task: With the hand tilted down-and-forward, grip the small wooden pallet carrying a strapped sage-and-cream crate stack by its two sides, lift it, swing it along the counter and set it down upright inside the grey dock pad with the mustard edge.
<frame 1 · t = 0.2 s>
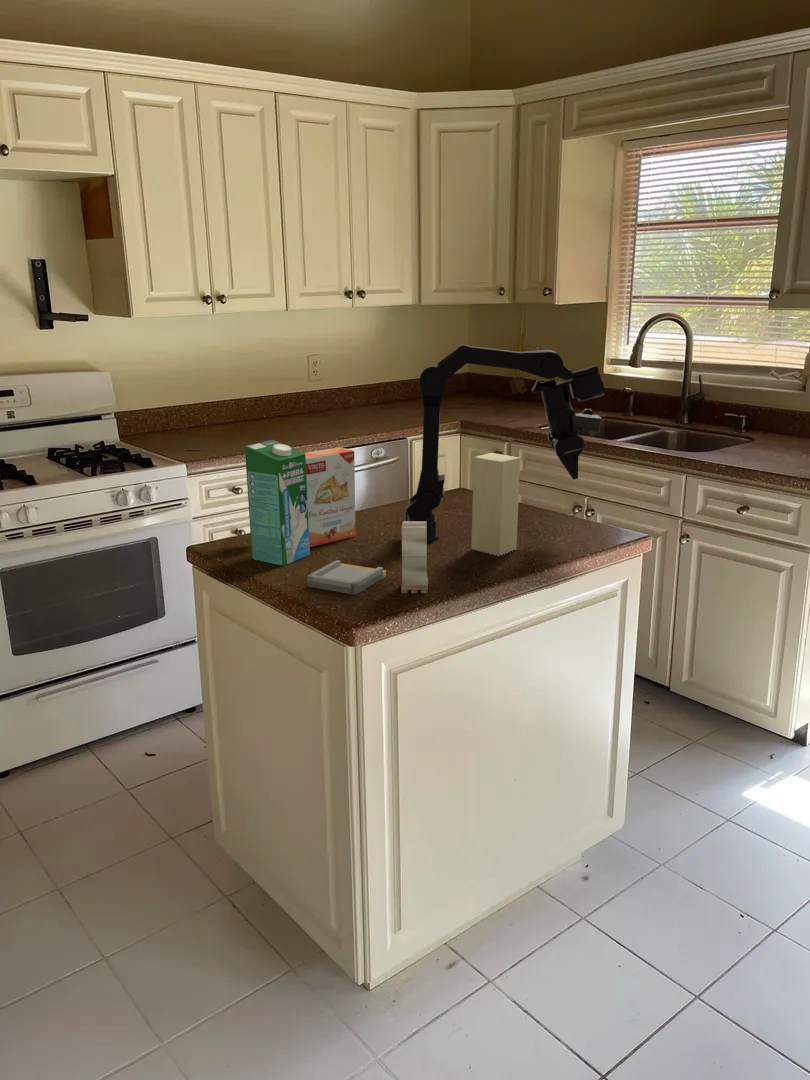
hand: (572, 474, 193), 15 cm above the countertop, tool pointing down, fingers open, 9 cm apart
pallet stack: (414, 588, 167), on the countertop
milk carton: (281, 558, 188), on the countertop
toy refrigerator: (495, 550, 191), on the countertop
cracker box: (326, 541, 199), on the countertop
dock pad: (345, 582, 172), on the countertop
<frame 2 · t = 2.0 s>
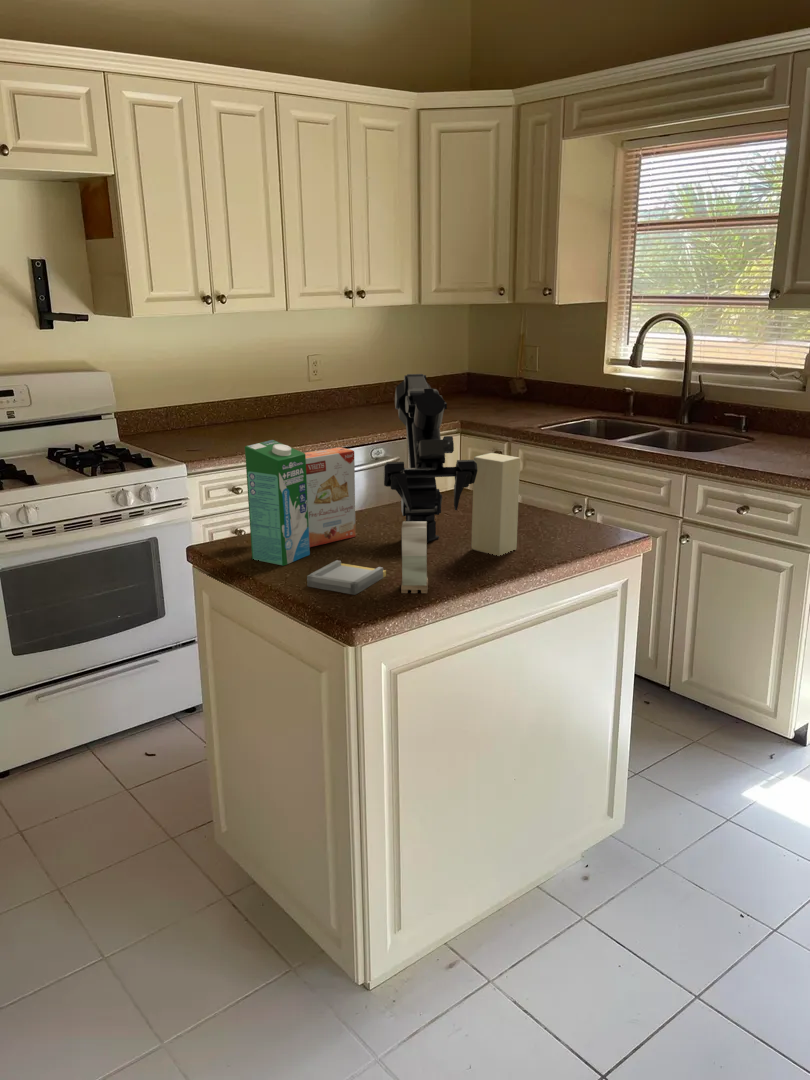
hand: (433, 510, 171), 14 cm above the countertop, tool tilted 40°, fingers open, 9 cm apart
nothing on the countertop moved.
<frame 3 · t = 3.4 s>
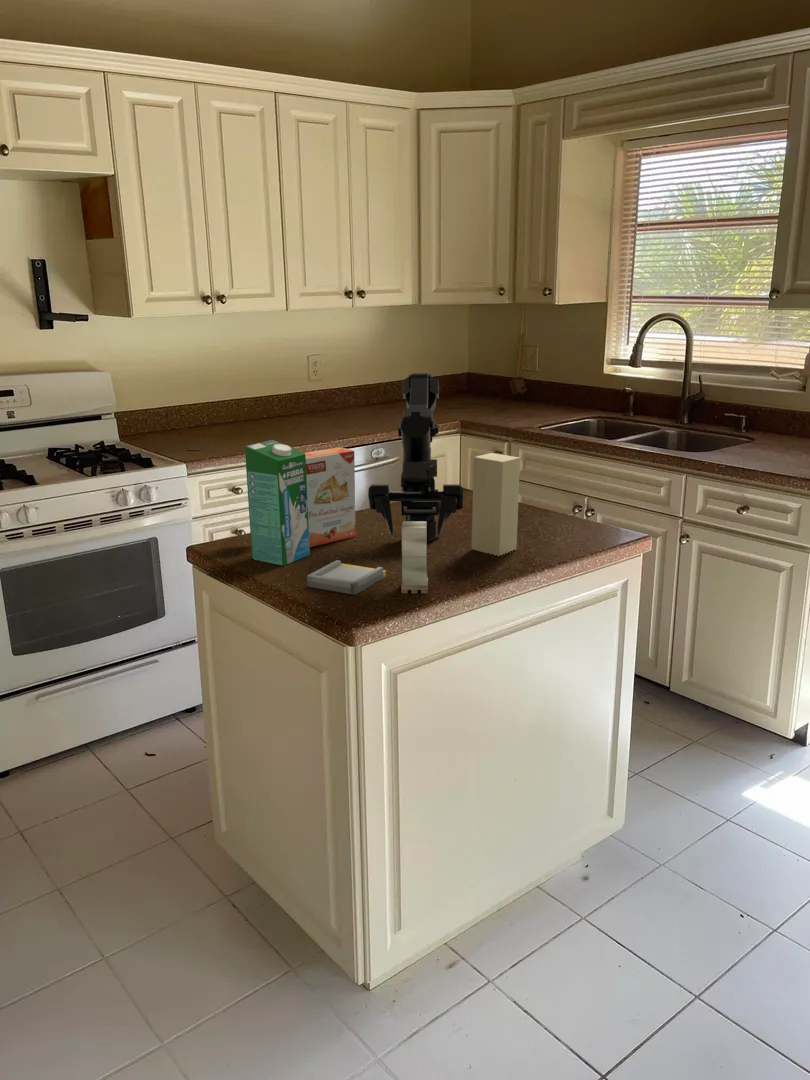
hand: (415, 534, 167), 10 cm above the countertop, tool tilted 45°, fingers open, 9 cm apart
nothing on the countertop moved.
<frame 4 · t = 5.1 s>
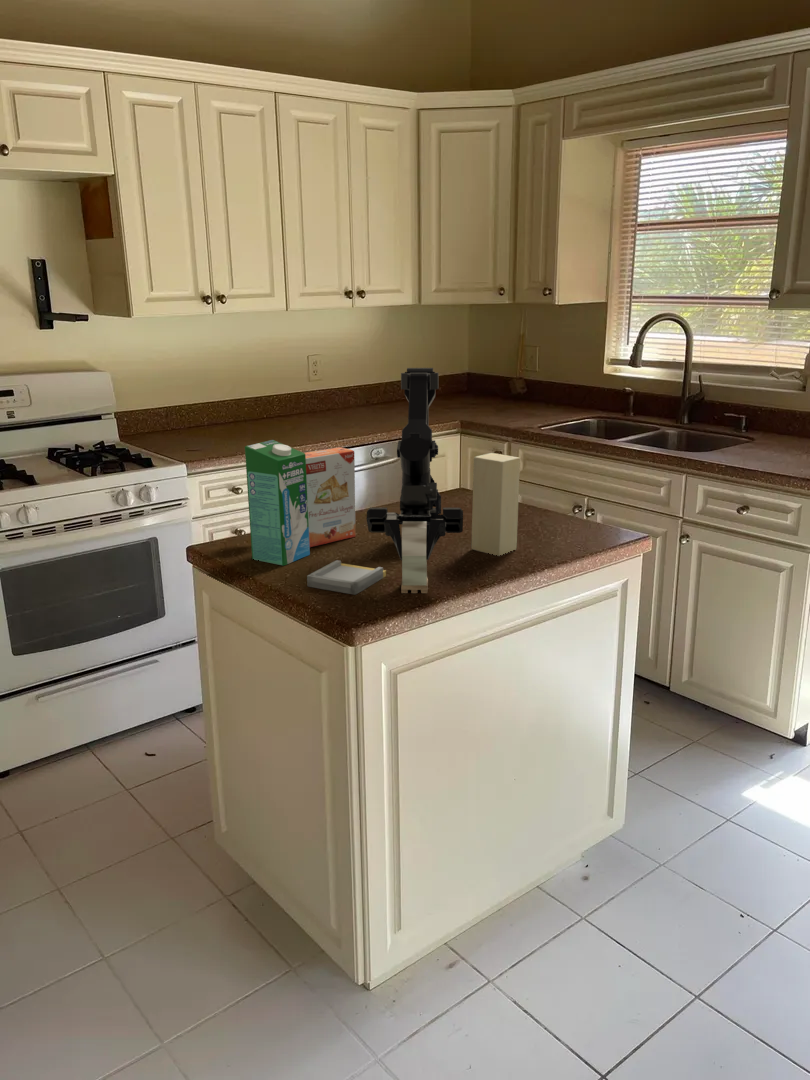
hand: (414, 558, 164), 7 cm above the countertop, tool tilted 45°, fingers closed on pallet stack, 5 cm apart
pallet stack: (414, 588, 167), on the countertop, touching gripper
everything else where it was.
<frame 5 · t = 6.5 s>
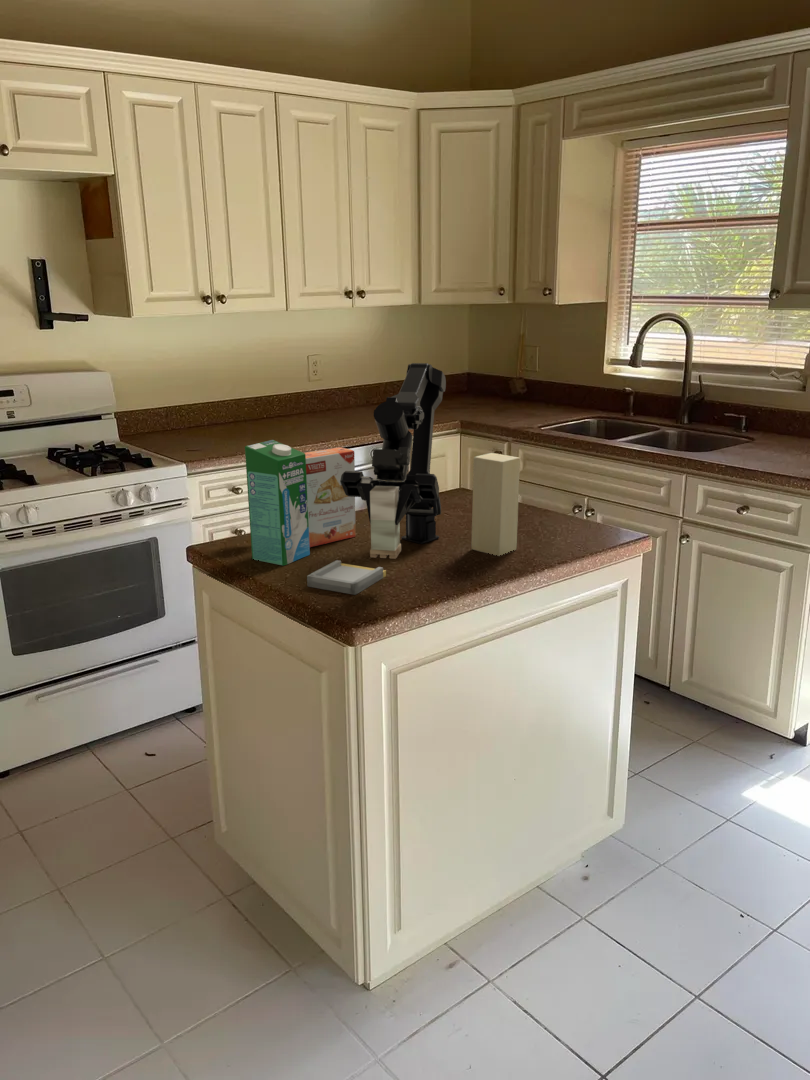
hand: (383, 523, 163), 13 cm above the countertop, tool tilted 45°, fingers closed on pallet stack, 5 cm apart
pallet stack: (385, 553, 167), point 7 cm above the countertop, touching gripper
everything else where it was.
when the fingers open (9 cm above the countertop, at t = 8.4 s): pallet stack drops 1 cm, resting on dock pad.
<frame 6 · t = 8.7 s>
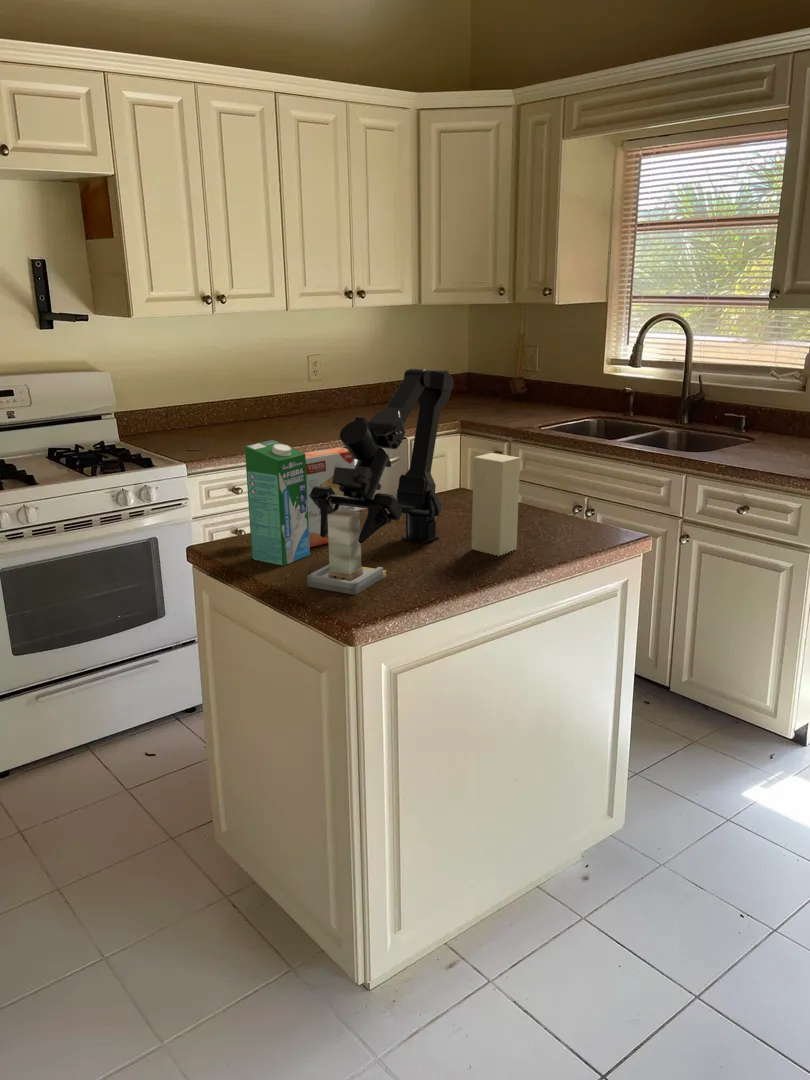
hand: (340, 539, 168), 9 cm above the countertop, tool tilted 45°, fingers open, 8 cm apart
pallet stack: (345, 576, 171), point 1 cm above the countertop, touching dock pad
everything else where it was.
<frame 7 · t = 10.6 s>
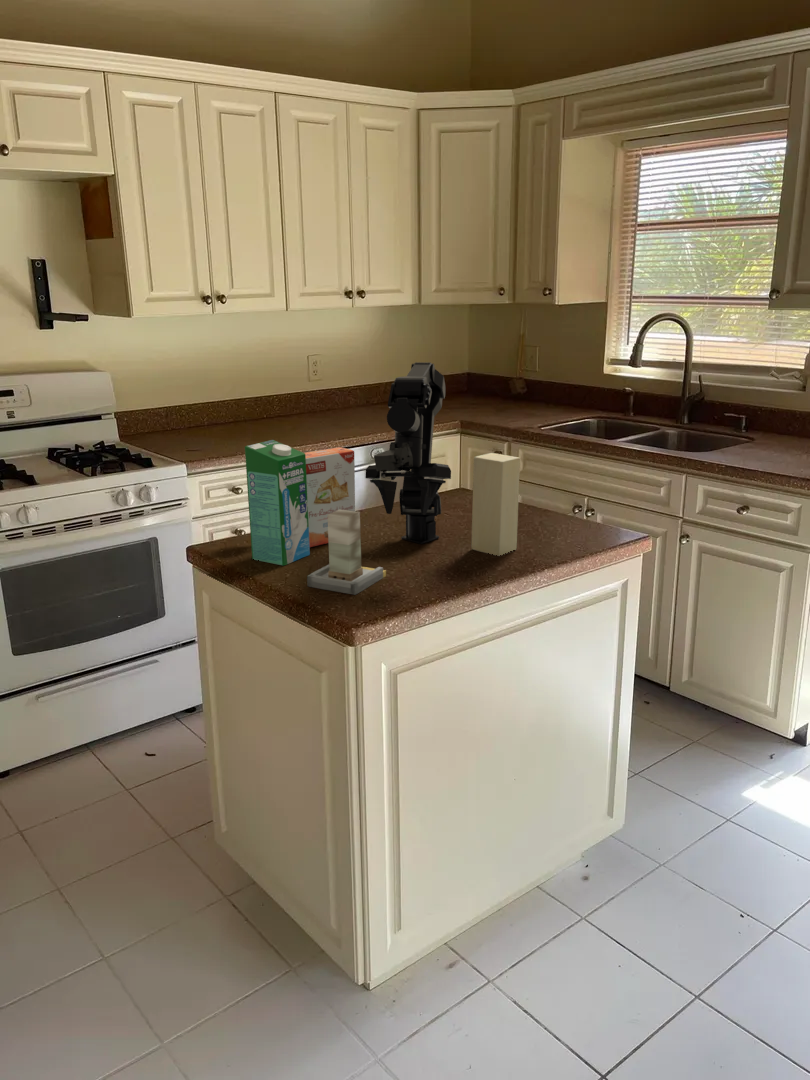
hand: (405, 514, 177), 11 cm above the countertop, tool tilted 15°, fingers open, 9 cm apart
nothing on the countertop moved.
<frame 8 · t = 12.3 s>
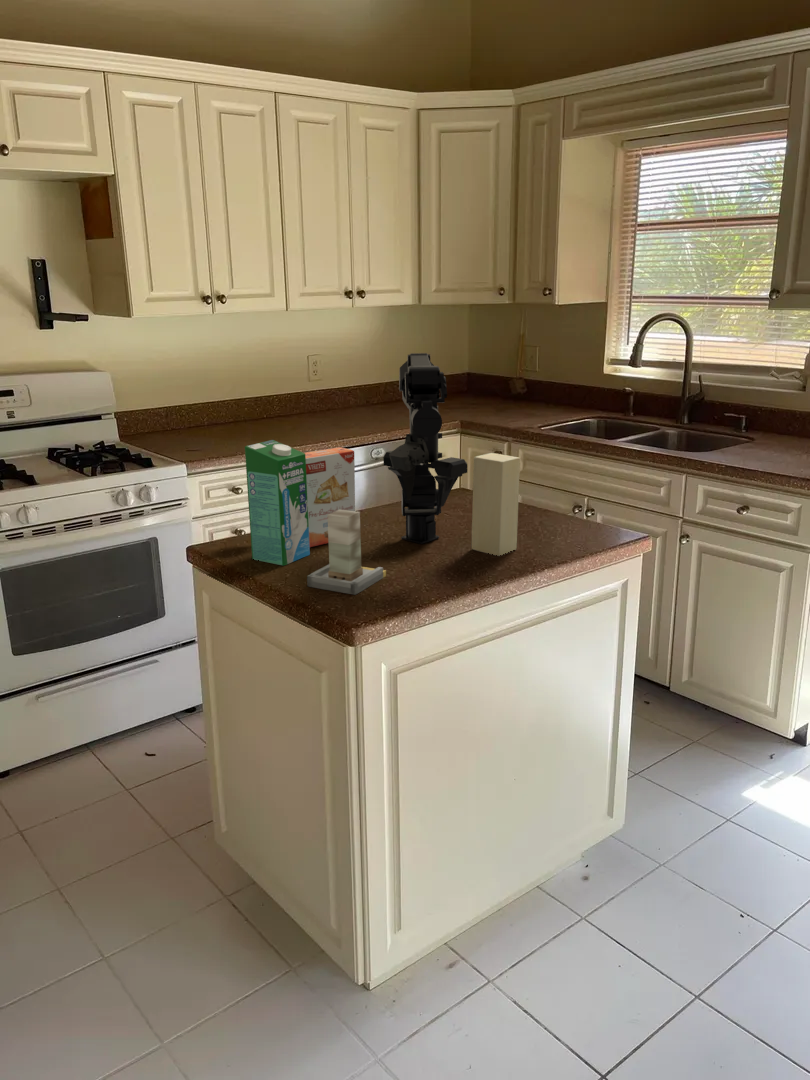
hand: (424, 503, 179), 13 cm above the countertop, tool pointing down, fingers open, 9 cm apart
nothing on the countertop moved.
at the end: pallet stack inside the target area on the dock pad (0.0 cm from its centre), point 1.2 cm above the dock pad's base; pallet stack tilted 0°; the gripper is holding nothing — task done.
